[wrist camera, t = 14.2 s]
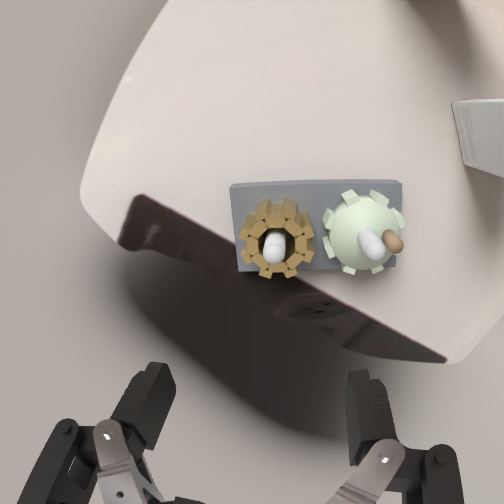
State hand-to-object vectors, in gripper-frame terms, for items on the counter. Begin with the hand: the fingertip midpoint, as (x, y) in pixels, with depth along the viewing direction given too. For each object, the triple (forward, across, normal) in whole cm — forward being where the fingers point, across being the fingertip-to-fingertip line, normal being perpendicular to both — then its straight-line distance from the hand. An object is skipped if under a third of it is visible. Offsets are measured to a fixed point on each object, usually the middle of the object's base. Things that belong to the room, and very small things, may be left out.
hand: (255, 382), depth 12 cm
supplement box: (+21, -24, -11) cm, 34 cm away
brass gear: (+19, 0, 0) cm, 19 cm away
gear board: (+21, -4, 0) cm, 21 cm away
